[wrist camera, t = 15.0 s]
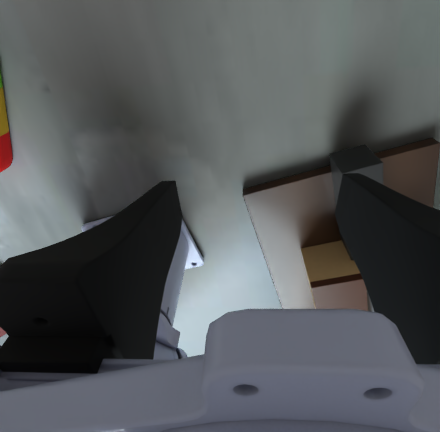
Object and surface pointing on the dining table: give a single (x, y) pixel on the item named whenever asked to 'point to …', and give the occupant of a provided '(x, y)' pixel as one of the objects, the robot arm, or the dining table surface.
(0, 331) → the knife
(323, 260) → the cake
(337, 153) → the cake knife
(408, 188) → the board
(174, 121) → the dining table surface
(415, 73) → the dining table surface
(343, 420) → the robot arm
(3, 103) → the popsicle
